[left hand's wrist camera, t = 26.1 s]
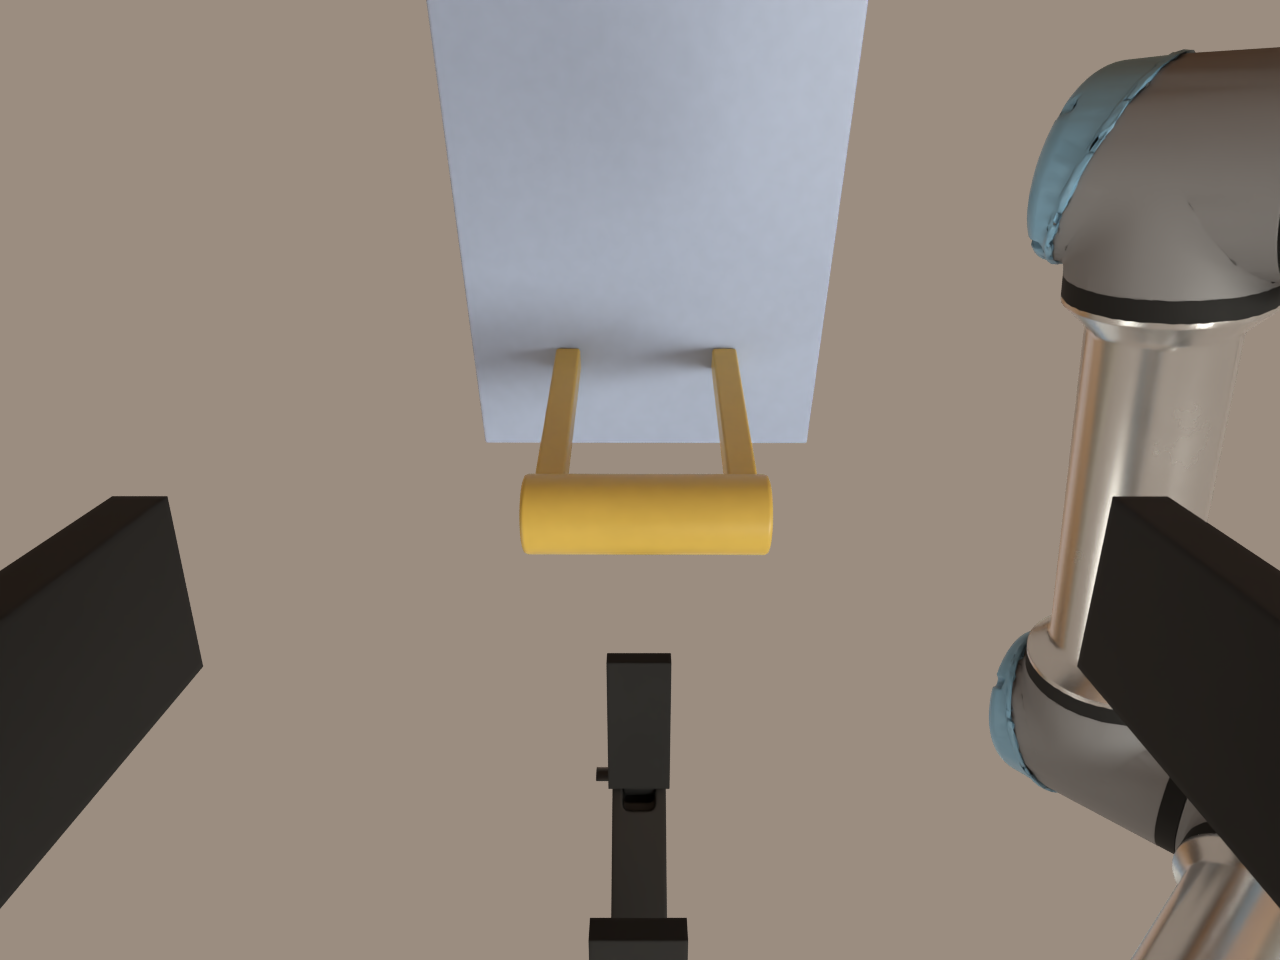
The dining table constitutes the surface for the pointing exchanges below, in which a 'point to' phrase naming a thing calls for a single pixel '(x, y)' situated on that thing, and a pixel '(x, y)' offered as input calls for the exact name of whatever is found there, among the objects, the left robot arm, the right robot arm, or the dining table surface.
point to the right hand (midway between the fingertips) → (638, 764)
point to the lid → (646, 244)
